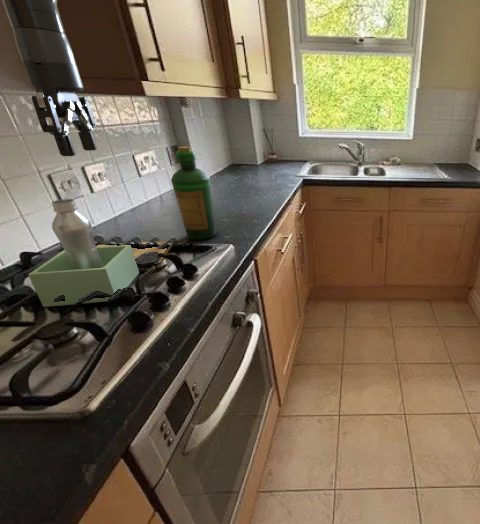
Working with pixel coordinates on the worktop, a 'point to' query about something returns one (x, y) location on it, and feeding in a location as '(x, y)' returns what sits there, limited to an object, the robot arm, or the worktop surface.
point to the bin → (84, 276)
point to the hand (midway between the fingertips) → (80, 153)
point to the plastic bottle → (75, 235)
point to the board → (147, 249)
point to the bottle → (194, 196)
